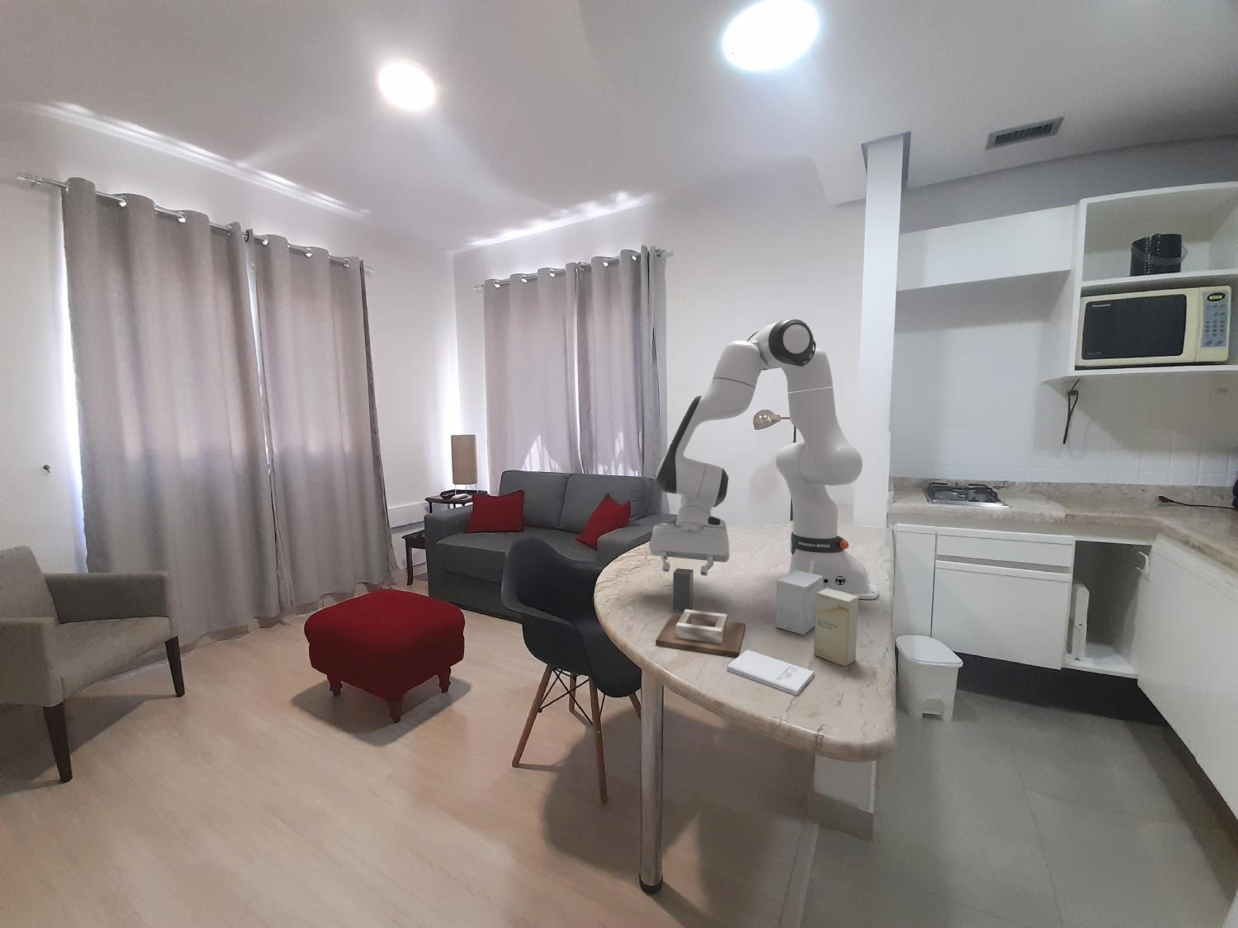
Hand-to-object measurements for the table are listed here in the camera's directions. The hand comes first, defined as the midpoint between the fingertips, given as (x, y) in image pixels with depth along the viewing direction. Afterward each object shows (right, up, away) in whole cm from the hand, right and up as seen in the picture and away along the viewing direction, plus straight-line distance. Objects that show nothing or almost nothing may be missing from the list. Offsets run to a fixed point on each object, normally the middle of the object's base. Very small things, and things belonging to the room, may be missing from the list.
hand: (684, 572), depth 115 cm
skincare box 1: (+24, -9, -12) cm, 28 cm away
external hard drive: (+11, -11, -32) cm, 36 cm away
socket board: (+1, -9, -18) cm, 20 cm away
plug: (-1, -8, -2) cm, 8 cm away
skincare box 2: (+24, -10, -27) cm, 38 cm away
